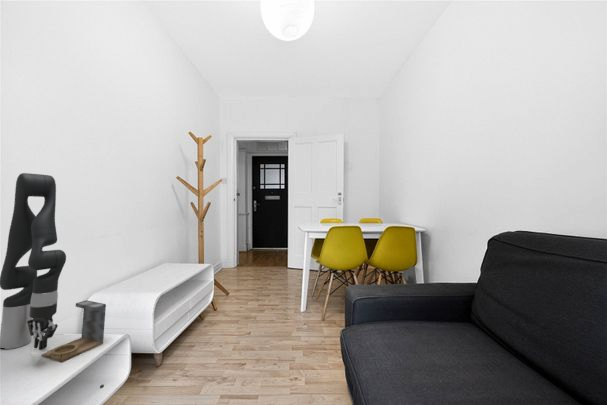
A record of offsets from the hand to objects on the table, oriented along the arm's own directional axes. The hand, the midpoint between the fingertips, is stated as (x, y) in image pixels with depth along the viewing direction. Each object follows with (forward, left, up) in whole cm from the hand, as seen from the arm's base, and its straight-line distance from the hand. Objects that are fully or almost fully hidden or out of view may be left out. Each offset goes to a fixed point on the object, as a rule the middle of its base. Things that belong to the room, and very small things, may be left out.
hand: (40, 347), depth 104 cm
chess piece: (0, 0, -2) cm, 2 cm away
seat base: (0, +12, -6) cm, 13 cm away
